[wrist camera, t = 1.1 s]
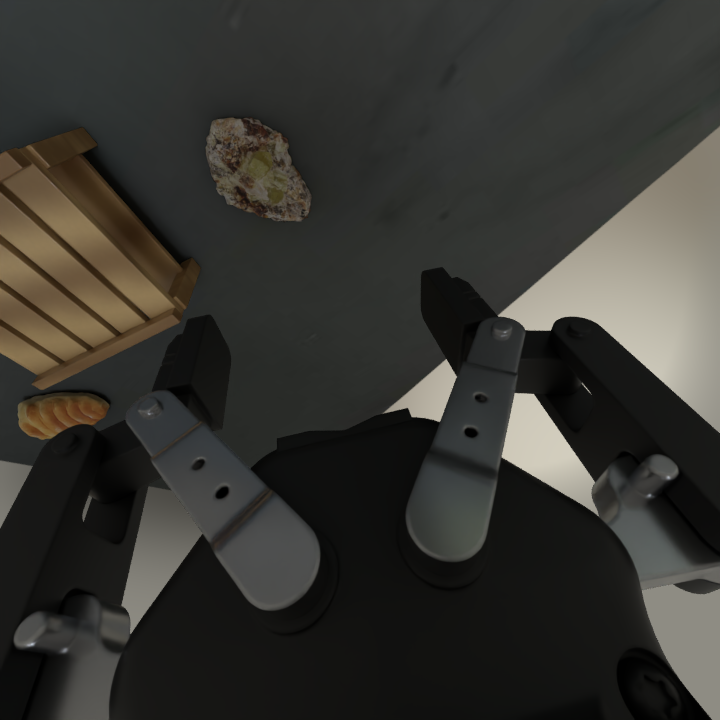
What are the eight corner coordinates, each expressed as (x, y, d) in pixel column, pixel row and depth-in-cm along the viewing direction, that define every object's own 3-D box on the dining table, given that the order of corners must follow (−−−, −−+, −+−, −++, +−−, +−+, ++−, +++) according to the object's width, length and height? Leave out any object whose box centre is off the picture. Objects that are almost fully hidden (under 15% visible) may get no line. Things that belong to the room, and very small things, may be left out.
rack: (-67, 213, 29) (-184, 265, 22) (81, 125, 27) (9, 148, 20) (84, 328, 39) (39, 392, 31) (201, 268, 37) (183, 321, 29)
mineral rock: (178, 180, 29) (223, 101, 24) (192, 157, 31) (235, 81, 27) (282, 253, 35) (332, 201, 31) (286, 229, 38) (333, 178, 33)
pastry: (90, 380, 43) (78, 402, 41) (123, 411, 48) (114, 433, 45) (17, 398, 43) (0, 421, 40) (58, 427, 48) (44, 450, 45)
